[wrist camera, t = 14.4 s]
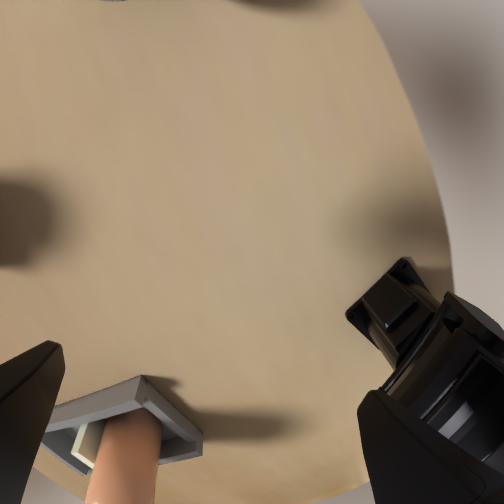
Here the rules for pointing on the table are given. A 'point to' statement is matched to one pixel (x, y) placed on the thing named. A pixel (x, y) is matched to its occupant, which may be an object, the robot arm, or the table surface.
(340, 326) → the table surface
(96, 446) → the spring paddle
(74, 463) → the tray
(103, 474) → the dome-lidded peach canister
